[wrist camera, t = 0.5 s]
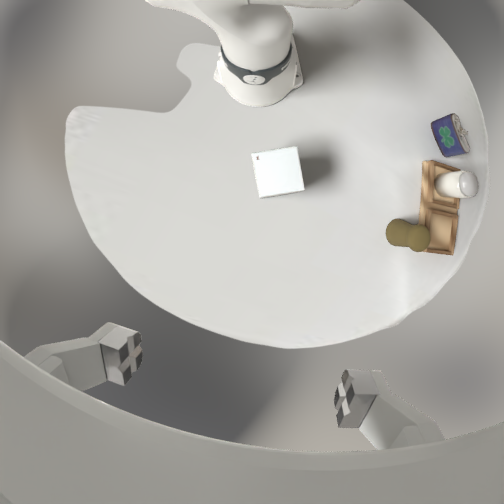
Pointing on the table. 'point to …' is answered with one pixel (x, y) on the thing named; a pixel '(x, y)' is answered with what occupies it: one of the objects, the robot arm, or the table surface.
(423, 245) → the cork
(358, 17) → the table surface
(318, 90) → the table surface
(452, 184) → the salt shaker
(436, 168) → the caddy
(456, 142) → the flask
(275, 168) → the supplement box
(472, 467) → the robot arm
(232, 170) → the table surface
